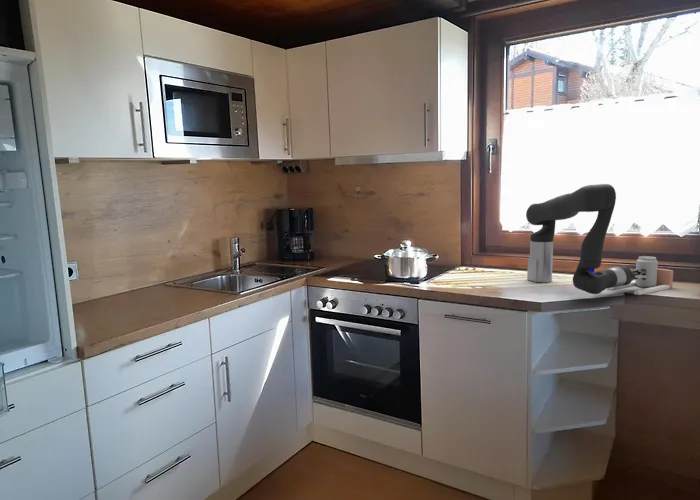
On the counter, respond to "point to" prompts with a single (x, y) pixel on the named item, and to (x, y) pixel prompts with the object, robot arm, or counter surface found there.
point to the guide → (662, 283)
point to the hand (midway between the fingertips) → (643, 271)
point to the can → (647, 271)
